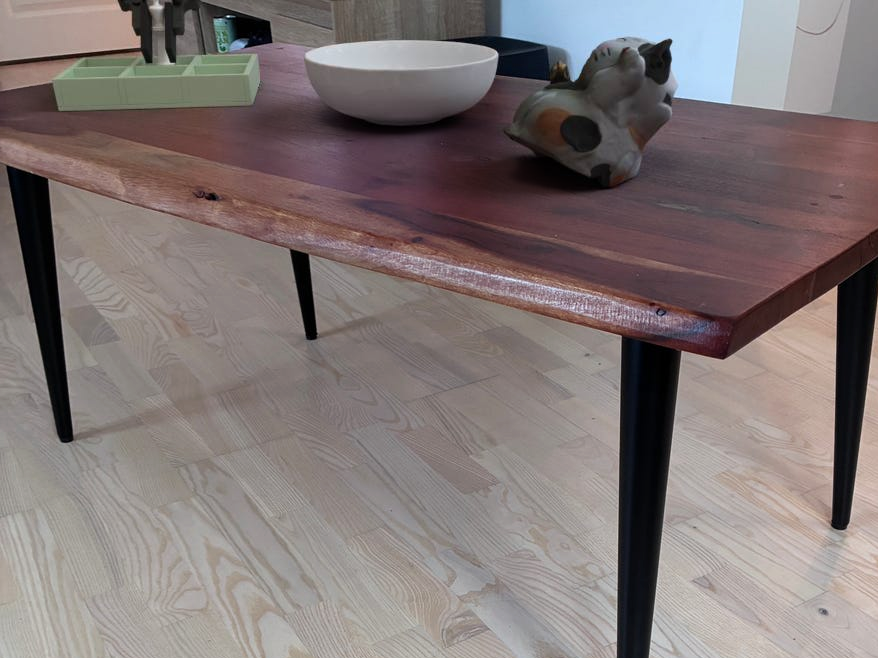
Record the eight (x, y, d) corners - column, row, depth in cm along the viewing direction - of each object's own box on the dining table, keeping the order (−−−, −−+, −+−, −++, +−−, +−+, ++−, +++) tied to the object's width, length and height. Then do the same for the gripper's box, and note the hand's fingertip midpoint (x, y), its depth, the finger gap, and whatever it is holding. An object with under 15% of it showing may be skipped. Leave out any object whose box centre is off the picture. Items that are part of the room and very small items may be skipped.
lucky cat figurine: (524, 146, 91) (596, 10, 87) (628, 207, 90) (707, 72, 85) (480, 135, 77) (563, -28, 73) (604, 207, 76) (697, 45, 71)
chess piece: (176, 71, 119) (162, -14, 114) (195, 77, 115) (183, -11, 111) (140, 76, 116) (124, -11, 111) (159, 82, 112) (144, -8, 108)
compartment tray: (58, 111, 106) (51, 79, 104) (87, 86, 118) (81, 57, 117) (252, 105, 108) (248, 74, 107) (260, 82, 121) (257, 53, 119)
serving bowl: (534, 112, 105) (535, 48, 101) (416, 150, 90) (413, 76, 87) (394, 91, 116) (391, 32, 112) (268, 122, 101) (261, 55, 97)
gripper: (223, -83, 121) (228, 73, 115) (103, -82, 119) (102, 76, 113) (213, -130, 114) (218, 34, 108) (85, -131, 112) (82, 36, 106)
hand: (158, 55), depth 111 cm, fingers closed on chess piece, 2 cm apart
